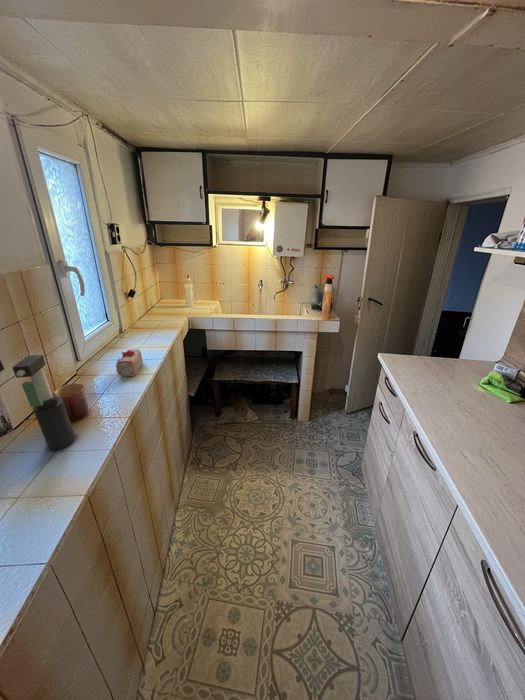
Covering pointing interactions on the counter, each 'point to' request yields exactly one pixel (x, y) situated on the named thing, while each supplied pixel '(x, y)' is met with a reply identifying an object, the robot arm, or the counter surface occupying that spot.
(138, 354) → the food item
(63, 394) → the mug
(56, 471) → the counter surface
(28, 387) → the trigger
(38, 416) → the spray bottle
